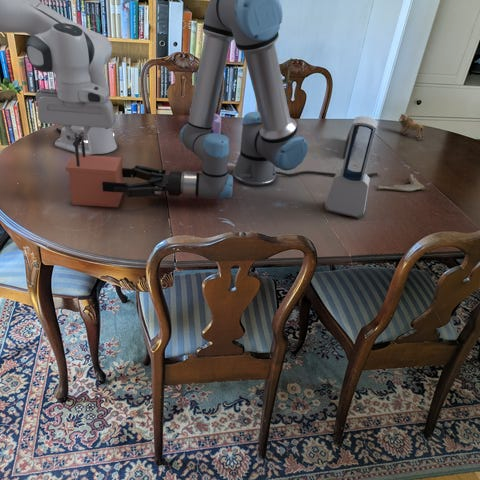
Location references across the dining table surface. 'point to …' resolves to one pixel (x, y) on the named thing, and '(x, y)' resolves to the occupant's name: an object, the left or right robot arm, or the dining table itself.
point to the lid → (92, 161)
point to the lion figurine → (410, 125)
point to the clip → (216, 124)
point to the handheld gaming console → (348, 141)
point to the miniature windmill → (286, 79)
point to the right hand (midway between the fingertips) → (106, 178)
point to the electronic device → (352, 178)
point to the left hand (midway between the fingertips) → (79, 139)
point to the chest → (94, 188)
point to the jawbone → (405, 186)
